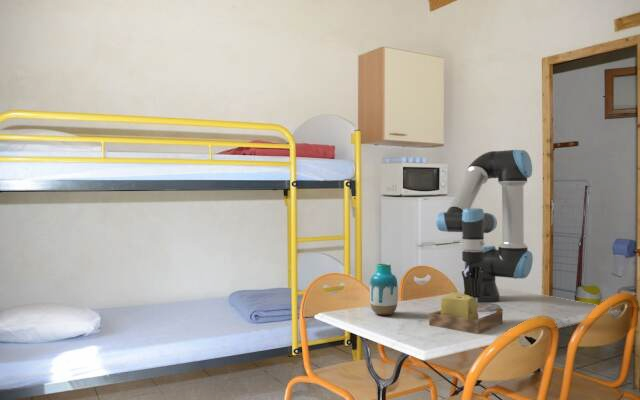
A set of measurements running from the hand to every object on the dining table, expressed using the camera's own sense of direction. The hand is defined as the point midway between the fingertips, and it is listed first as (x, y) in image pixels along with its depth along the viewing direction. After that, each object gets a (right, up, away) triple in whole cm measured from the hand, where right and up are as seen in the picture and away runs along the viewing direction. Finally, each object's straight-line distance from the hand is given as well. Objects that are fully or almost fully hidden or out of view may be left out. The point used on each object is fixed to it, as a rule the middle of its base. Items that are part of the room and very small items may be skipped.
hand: (473, 315), depth 194 cm
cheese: (-7, -2, -6) cm, 9 cm away
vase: (-31, -2, +10) cm, 33 cm away
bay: (-4, -2, -5) cm, 7 cm away
